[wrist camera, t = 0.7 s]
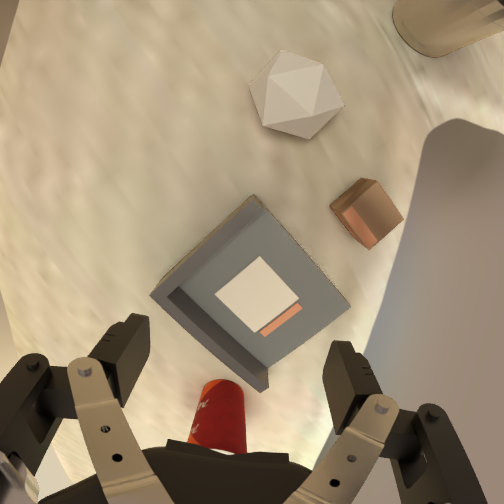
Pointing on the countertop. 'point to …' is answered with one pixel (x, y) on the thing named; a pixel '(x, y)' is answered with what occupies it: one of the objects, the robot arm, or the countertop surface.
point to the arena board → (249, 293)
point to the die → (295, 95)
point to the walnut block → (367, 212)
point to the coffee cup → (220, 418)
